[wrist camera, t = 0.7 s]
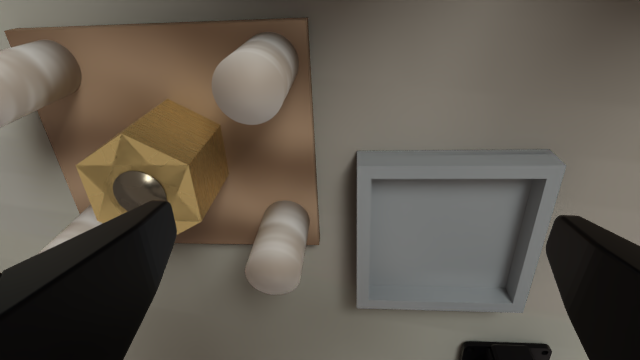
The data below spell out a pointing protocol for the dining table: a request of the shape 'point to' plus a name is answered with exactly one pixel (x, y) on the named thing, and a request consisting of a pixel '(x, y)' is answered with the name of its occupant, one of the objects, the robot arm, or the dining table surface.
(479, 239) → the tray
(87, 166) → the nut
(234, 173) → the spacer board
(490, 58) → the dining table surface
